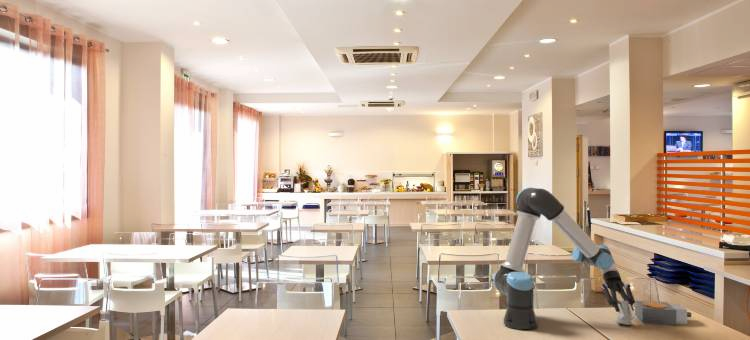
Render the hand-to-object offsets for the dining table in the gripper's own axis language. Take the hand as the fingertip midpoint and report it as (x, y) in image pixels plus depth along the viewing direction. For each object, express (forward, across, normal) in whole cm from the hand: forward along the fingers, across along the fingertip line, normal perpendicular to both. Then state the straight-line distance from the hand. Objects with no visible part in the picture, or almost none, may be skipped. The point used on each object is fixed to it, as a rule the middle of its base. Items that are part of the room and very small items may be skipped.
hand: (627, 317), depth 221 cm
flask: (0, 0, -5) cm, 5 cm away
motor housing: (-4, -22, -10) cm, 25 cm away
